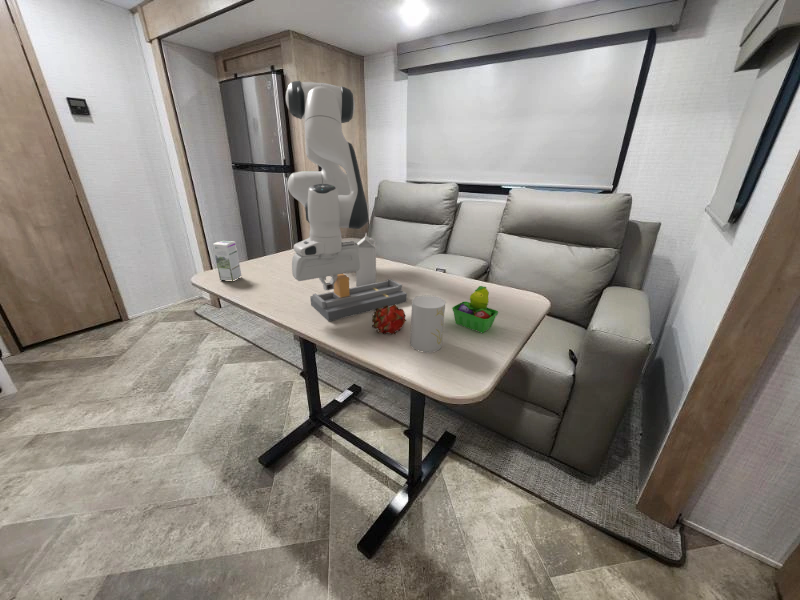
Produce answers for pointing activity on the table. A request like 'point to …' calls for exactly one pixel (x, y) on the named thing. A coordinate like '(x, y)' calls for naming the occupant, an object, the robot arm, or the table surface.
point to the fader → (341, 287)
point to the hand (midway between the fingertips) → (328, 289)
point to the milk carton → (366, 262)
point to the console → (359, 300)
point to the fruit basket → (475, 311)
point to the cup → (427, 323)
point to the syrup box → (227, 260)
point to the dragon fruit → (388, 319)
